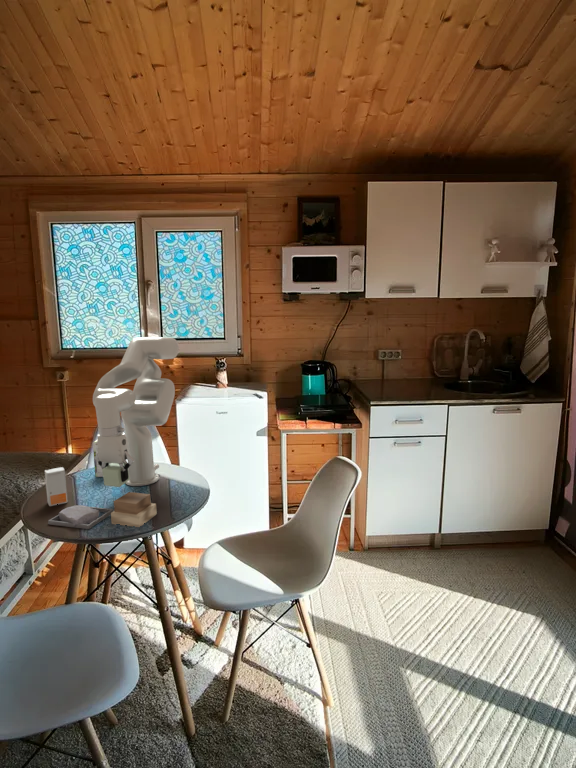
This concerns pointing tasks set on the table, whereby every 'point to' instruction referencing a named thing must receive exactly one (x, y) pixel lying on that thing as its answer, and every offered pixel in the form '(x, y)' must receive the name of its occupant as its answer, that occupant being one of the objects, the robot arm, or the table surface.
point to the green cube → (113, 475)
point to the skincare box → (56, 486)
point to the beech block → (134, 517)
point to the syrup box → (97, 467)
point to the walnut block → (132, 503)
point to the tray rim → (84, 526)
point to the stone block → (78, 515)
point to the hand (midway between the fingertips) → (116, 479)
